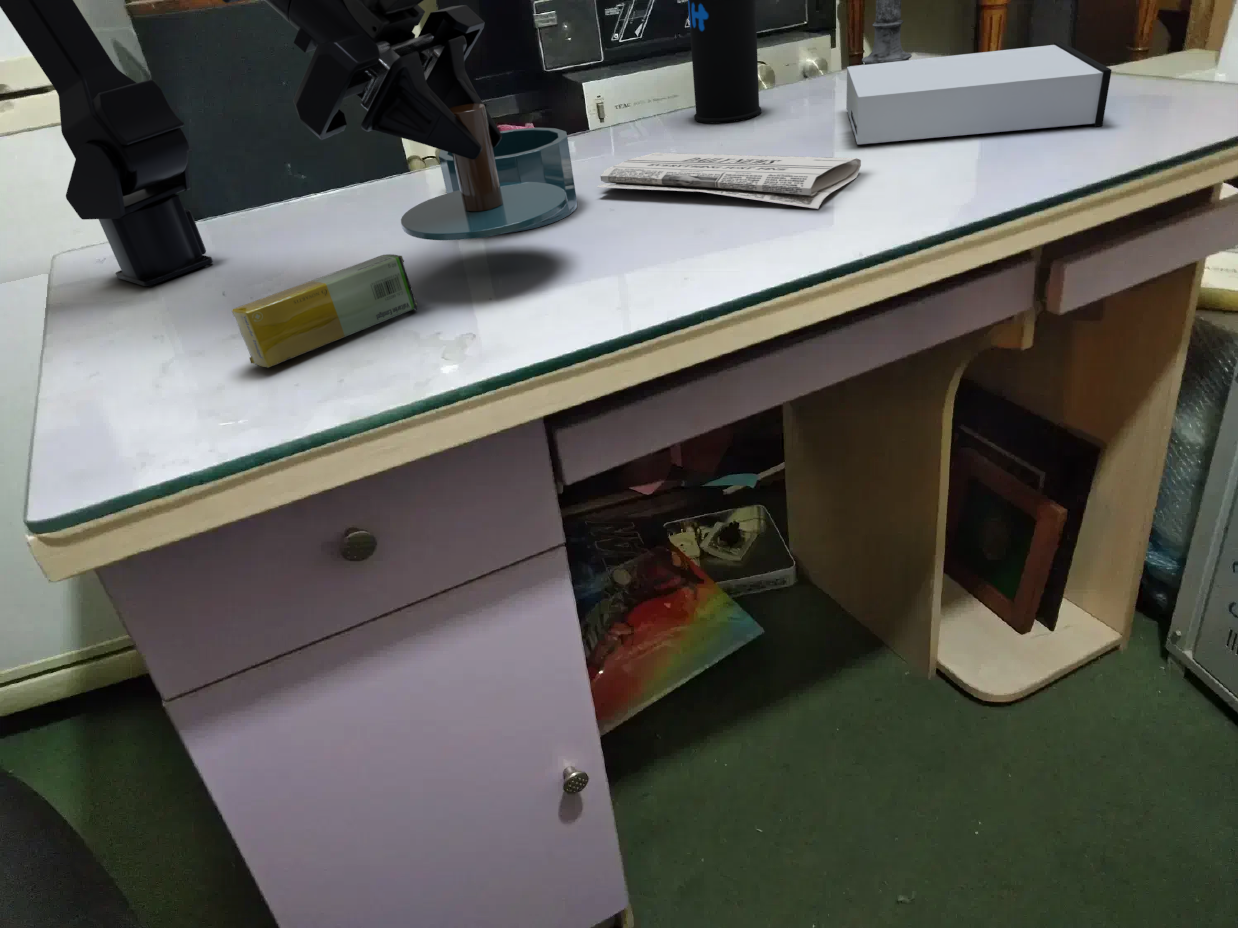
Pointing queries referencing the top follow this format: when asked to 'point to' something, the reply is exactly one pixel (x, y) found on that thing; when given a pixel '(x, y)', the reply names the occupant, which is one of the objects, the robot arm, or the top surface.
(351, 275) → the medication box
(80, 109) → the robot arm
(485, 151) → the lid
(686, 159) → the newspaper
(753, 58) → the aerosol can
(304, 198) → the top surface
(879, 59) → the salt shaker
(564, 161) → the canister
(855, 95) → the disc drive
